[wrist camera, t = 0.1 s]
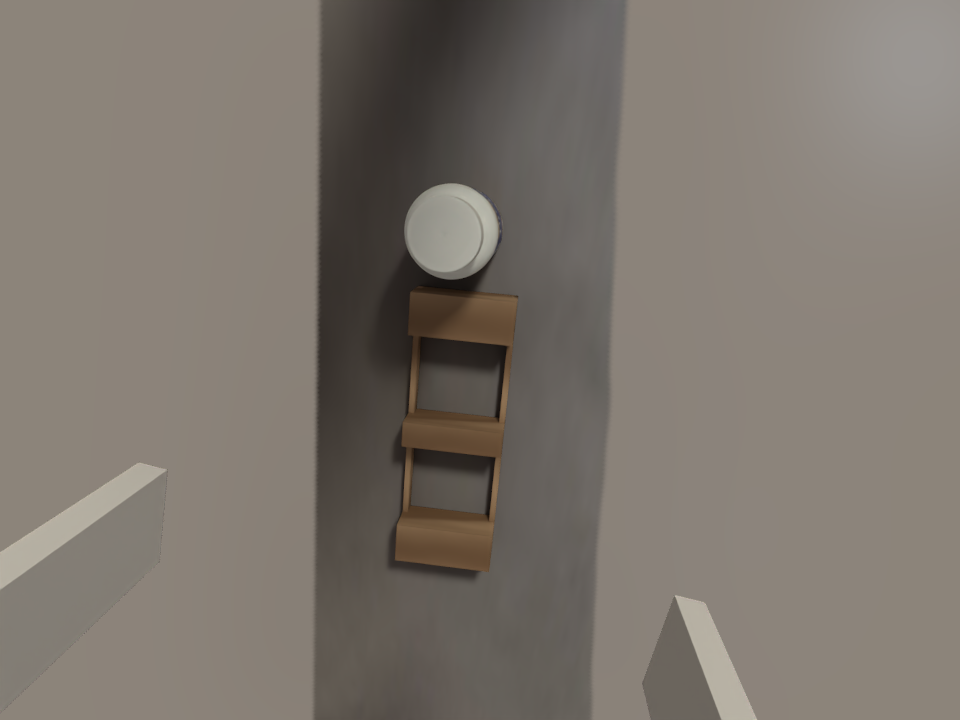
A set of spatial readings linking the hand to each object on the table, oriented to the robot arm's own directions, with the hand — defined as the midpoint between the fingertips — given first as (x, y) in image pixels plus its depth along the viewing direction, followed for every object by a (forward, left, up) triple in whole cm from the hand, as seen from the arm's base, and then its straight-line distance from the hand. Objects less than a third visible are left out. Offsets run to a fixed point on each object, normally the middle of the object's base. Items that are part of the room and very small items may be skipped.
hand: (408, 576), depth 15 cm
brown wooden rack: (+7, -1, -28) cm, 29 cm away
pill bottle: (-7, -3, -28) cm, 29 cm away
